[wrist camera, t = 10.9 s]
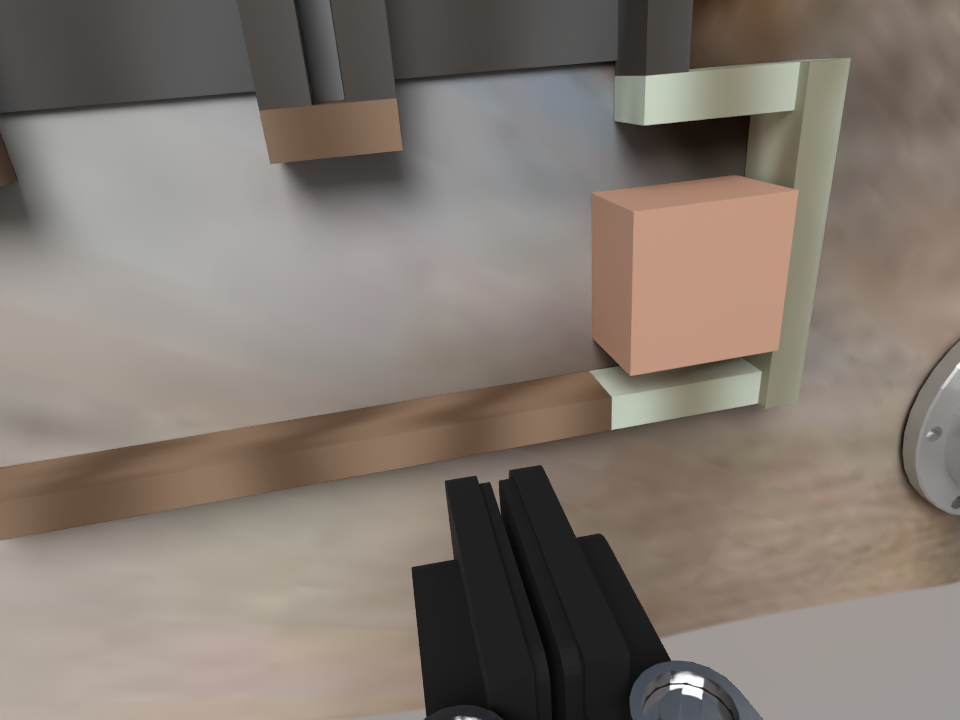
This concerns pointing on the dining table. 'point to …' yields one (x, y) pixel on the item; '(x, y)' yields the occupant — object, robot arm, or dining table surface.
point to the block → (690, 271)
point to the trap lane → (375, 129)
